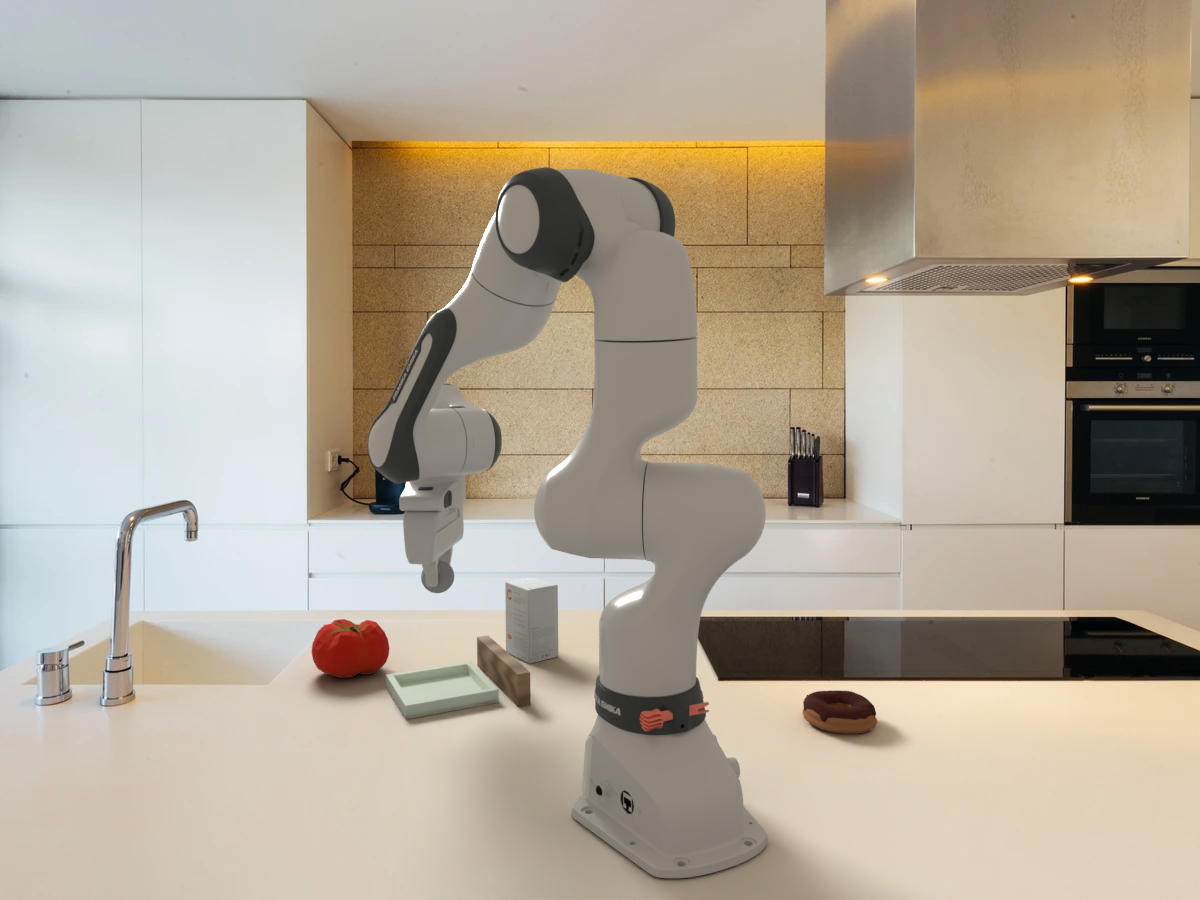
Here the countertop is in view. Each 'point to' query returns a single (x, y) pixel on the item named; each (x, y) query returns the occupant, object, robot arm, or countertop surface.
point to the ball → (441, 578)
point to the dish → (440, 689)
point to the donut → (840, 712)
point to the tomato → (350, 648)
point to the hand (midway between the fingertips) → (438, 580)
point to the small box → (531, 619)
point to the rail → (504, 670)
